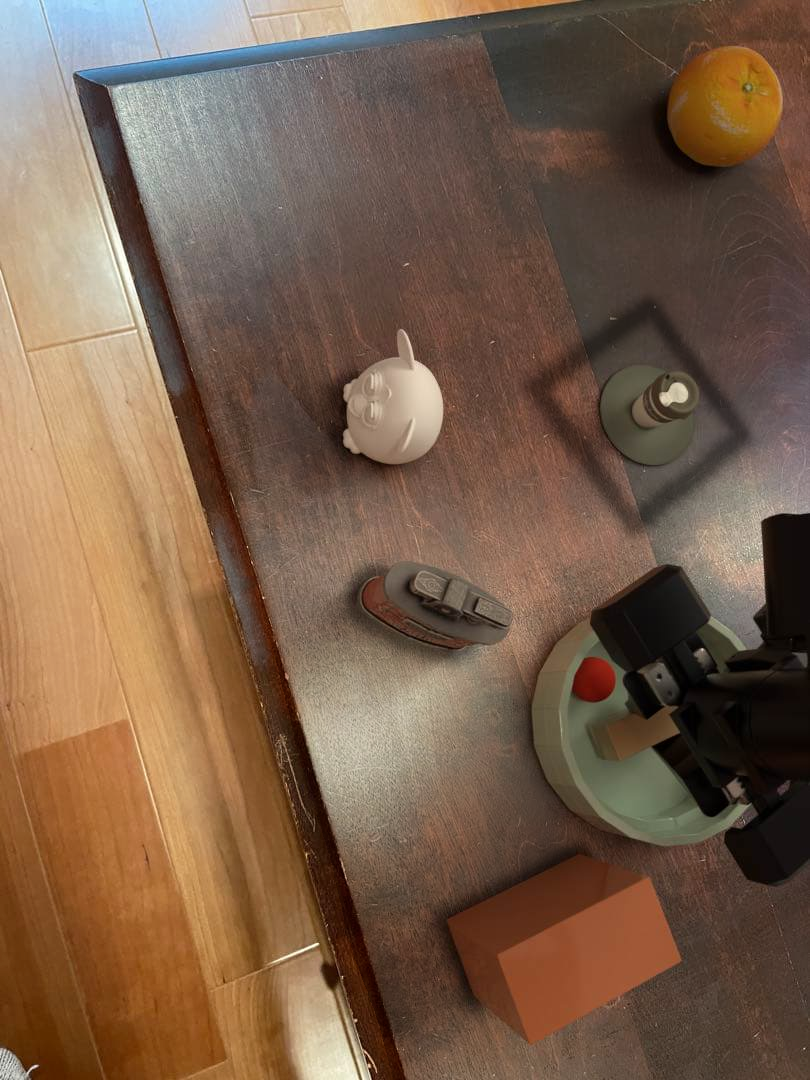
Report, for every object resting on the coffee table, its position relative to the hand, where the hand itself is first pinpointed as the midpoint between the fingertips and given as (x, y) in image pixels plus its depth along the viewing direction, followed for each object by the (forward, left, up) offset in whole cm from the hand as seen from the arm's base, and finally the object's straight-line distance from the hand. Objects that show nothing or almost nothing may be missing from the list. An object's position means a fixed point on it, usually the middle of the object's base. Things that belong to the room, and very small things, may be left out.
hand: (643, 721), depth 62 cm
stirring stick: (0, 0, 0) cm, 0 cm away
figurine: (+25, +9, -2) cm, 27 cm away
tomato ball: (+4, +3, 0) cm, 5 cm away
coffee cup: (+20, -10, -2) cm, 22 cm away
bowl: (0, 0, -2) cm, 2 cm away
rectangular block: (-9, +12, -2) cm, 15 cm away
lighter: (+12, +12, -2) cm, 17 cm away
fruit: (+40, -24, -2) cm, 47 cm away
